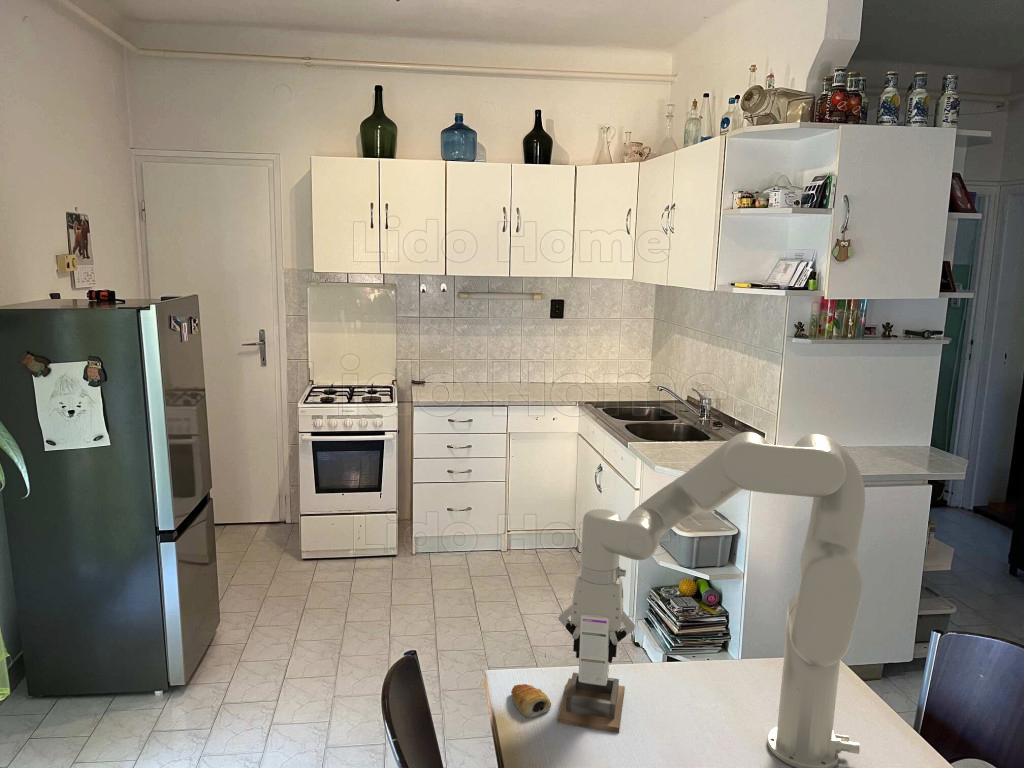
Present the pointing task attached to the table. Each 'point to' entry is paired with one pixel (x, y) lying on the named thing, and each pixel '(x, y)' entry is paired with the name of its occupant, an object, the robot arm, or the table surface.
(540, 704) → the pastry
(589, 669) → the syrup box
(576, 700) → the socket stand
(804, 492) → the robot arm
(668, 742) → the table surface
